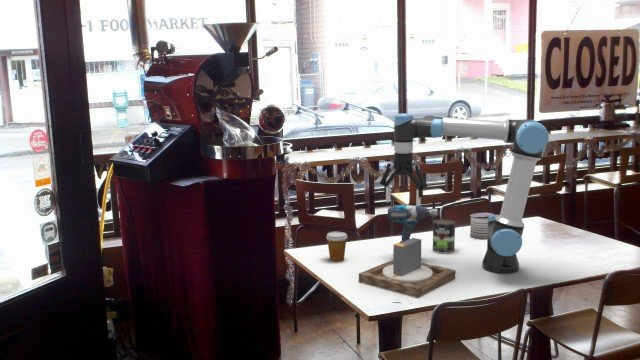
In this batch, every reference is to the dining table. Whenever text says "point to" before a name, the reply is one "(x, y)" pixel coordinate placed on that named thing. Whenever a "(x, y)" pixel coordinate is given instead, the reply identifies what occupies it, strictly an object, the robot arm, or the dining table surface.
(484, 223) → the can
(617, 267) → the dining table surface
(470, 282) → the dining table surface
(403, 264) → the dial
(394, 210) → the impact wrench
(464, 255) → the dining table surface
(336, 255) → the disposable coffee cup
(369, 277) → the dial base
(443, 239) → the coffee can
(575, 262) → the dining table surface
